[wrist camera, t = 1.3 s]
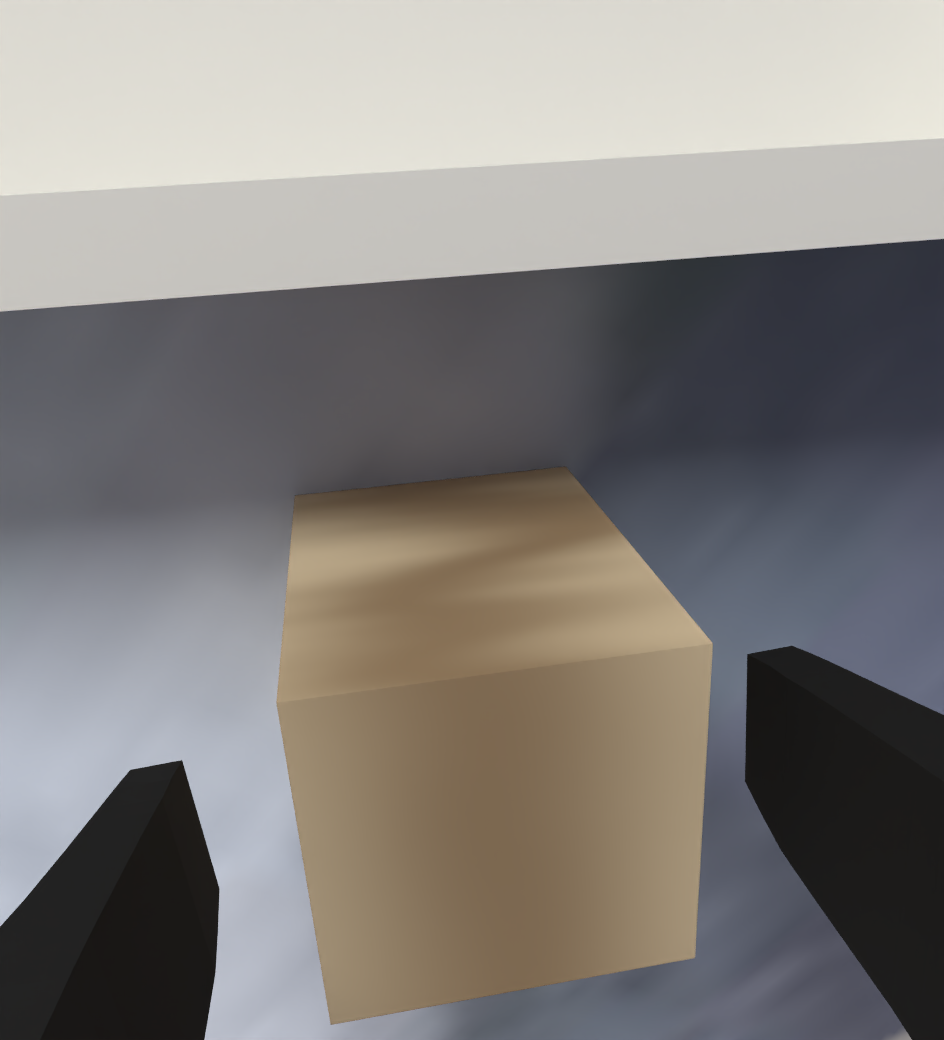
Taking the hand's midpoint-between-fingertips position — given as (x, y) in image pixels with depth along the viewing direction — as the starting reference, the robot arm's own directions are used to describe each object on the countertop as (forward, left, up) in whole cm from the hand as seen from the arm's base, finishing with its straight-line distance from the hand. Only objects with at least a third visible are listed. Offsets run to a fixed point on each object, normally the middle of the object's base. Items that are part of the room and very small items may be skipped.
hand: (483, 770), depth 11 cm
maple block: (0, 0, -5) cm, 5 cm away
